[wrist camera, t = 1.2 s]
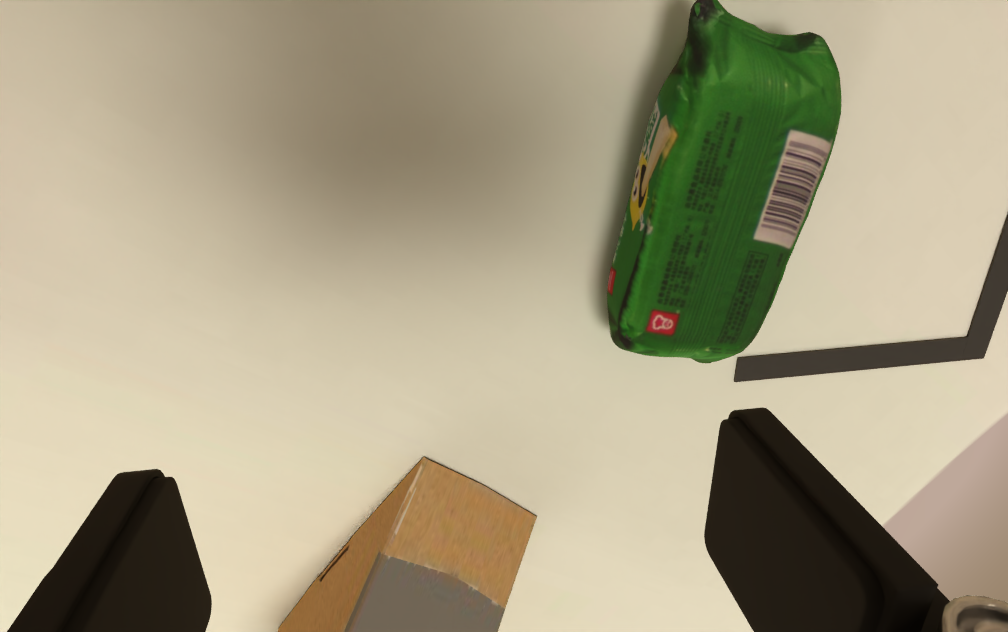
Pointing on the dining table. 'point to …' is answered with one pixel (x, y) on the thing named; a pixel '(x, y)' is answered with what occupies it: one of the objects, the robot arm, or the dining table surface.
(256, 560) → the dining table surface
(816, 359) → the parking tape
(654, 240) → the snack package
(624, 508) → the dining table surface
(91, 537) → the robot arm
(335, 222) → the dining table surface
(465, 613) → the sandwich container
